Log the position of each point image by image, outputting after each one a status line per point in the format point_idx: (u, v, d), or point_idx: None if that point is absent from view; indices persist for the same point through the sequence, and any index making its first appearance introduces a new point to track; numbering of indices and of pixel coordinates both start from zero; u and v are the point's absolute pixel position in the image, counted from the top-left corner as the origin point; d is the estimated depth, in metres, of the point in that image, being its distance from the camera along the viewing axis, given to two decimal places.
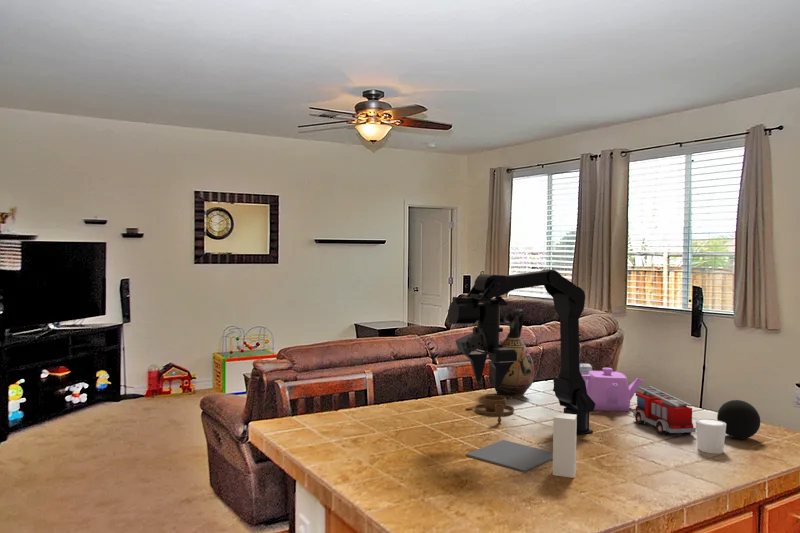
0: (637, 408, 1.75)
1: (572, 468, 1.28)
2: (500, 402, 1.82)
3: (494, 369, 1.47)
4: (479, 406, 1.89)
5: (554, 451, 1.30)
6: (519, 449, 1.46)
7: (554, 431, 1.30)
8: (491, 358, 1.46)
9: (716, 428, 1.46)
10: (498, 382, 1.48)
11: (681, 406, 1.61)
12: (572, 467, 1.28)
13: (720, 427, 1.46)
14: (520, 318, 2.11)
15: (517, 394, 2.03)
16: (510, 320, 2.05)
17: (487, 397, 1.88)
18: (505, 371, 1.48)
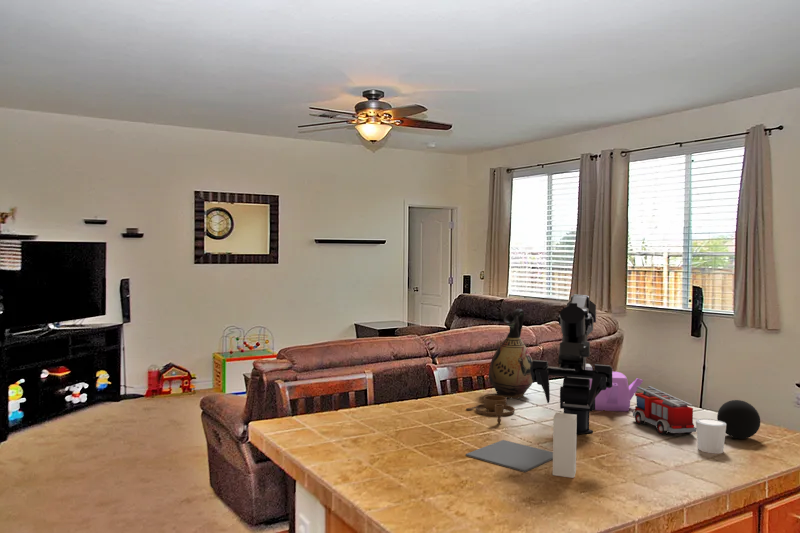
0: (637, 408, 1.75)
1: (572, 468, 1.28)
2: (500, 402, 1.81)
3: (595, 384, 1.39)
4: (480, 406, 1.88)
5: (554, 451, 1.30)
6: (519, 449, 1.46)
7: (554, 431, 1.30)
8: (600, 370, 1.39)
9: (716, 428, 1.46)
10: (592, 400, 1.38)
11: (682, 406, 1.61)
12: (572, 467, 1.28)
13: (720, 427, 1.46)
14: (520, 318, 2.11)
15: (517, 394, 2.03)
16: (510, 320, 2.05)
17: (488, 397, 1.87)
18: (597, 394, 1.40)
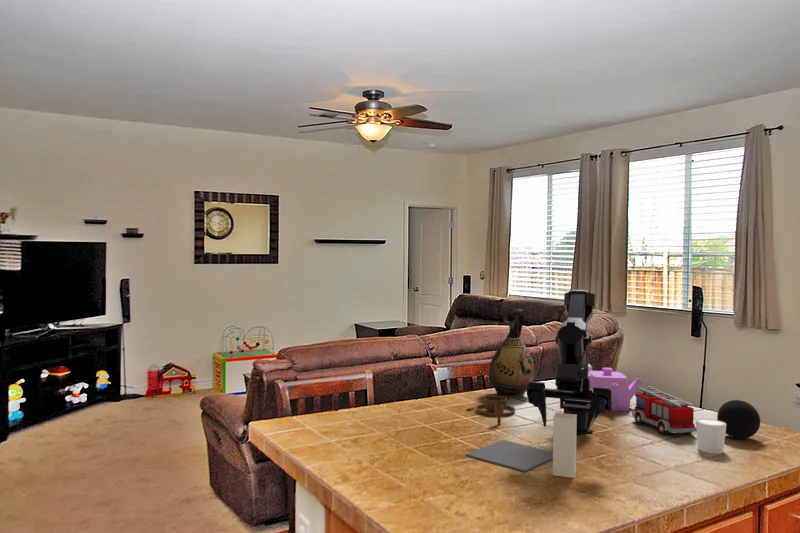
0: (636, 408, 1.75)
1: (572, 468, 1.28)
2: (501, 403, 1.81)
3: (593, 408, 1.33)
4: (480, 406, 1.88)
5: (554, 451, 1.30)
6: (519, 449, 1.46)
7: (554, 431, 1.30)
8: (599, 393, 1.34)
9: (716, 428, 1.46)
10: (590, 424, 1.32)
11: (682, 406, 1.61)
12: (572, 467, 1.28)
13: (720, 427, 1.46)
14: (520, 318, 2.11)
15: (517, 394, 2.03)
16: (510, 320, 2.05)
17: (488, 397, 1.87)
18: (595, 417, 1.35)
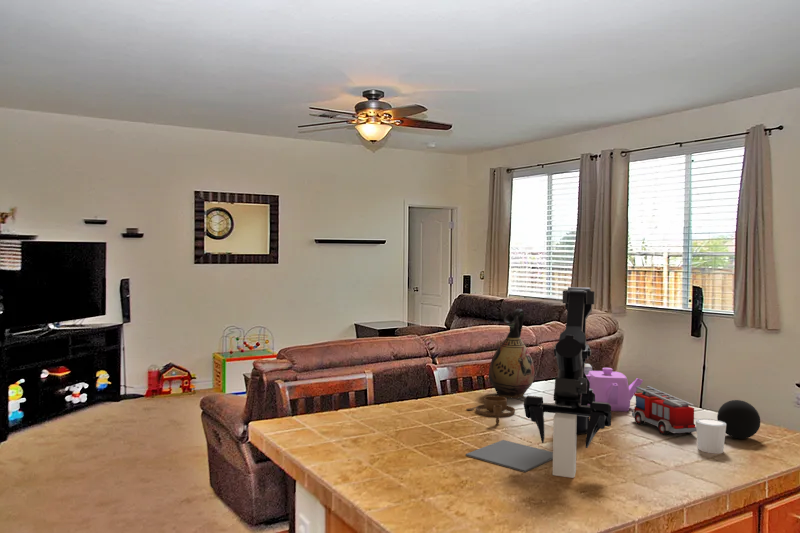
0: (636, 408, 1.74)
1: (572, 468, 1.28)
2: (500, 403, 1.81)
3: (592, 423, 1.30)
4: (480, 407, 1.88)
5: (554, 451, 1.30)
6: (519, 449, 1.46)
7: (554, 431, 1.30)
8: (598, 408, 1.30)
9: (716, 428, 1.46)
10: (589, 441, 1.29)
11: (683, 406, 1.61)
12: (572, 467, 1.28)
13: (720, 427, 1.46)
14: (520, 318, 2.11)
15: (517, 394, 2.03)
16: (510, 320, 2.05)
17: (488, 398, 1.87)
18: (594, 433, 1.31)
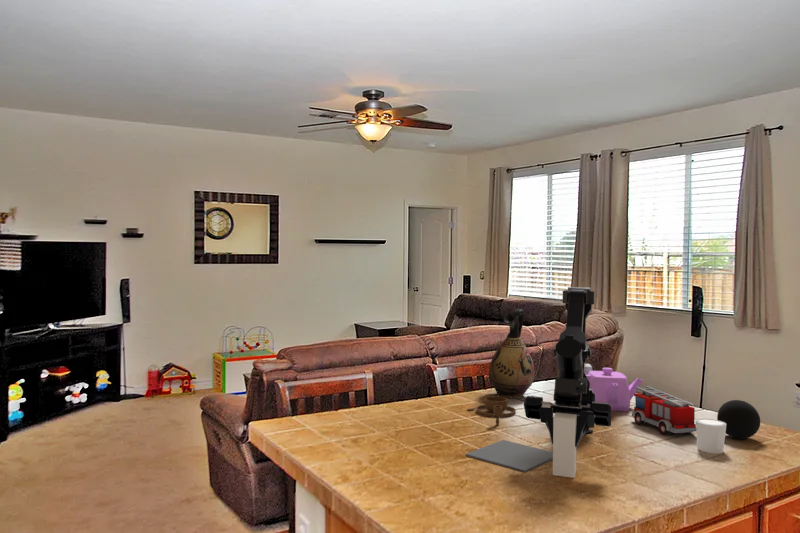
0: (636, 408, 1.74)
1: (572, 468, 1.28)
2: (501, 403, 1.80)
3: (582, 423, 1.31)
4: (481, 407, 1.88)
5: (554, 451, 1.30)
6: (519, 449, 1.46)
7: (554, 431, 1.30)
8: (598, 408, 1.30)
9: (716, 428, 1.46)
10: (579, 440, 1.30)
11: (683, 406, 1.61)
12: (572, 467, 1.28)
13: (720, 427, 1.46)
14: (520, 318, 2.11)
15: (517, 394, 2.03)
16: (510, 320, 2.05)
17: (489, 398, 1.86)
18: (584, 432, 1.32)
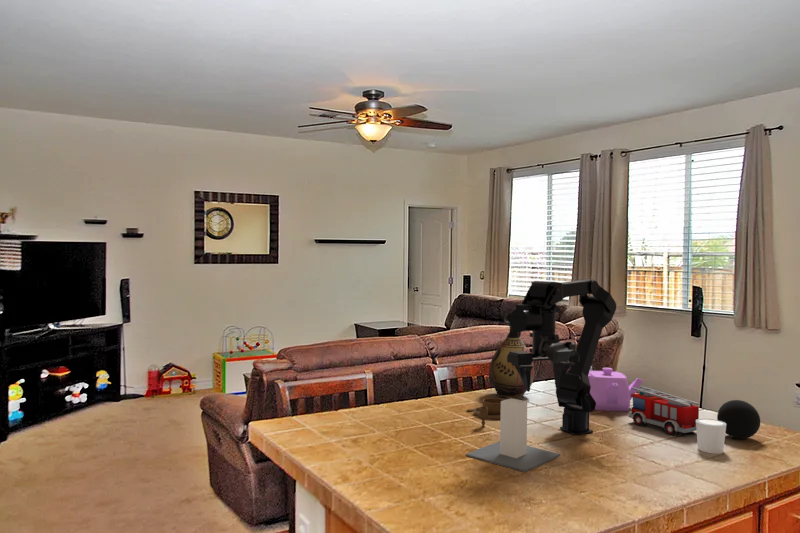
0: (634, 409, 1.73)
1: (515, 449, 1.40)
2: (496, 405, 1.77)
3: (564, 370, 1.56)
4: None
5: (501, 432, 1.42)
6: None
7: (501, 414, 1.42)
8: (572, 360, 1.55)
9: (716, 428, 1.46)
10: None
11: None
12: (515, 448, 1.40)
13: (720, 427, 1.46)
14: None
15: (517, 394, 2.03)
16: None
17: (489, 400, 1.84)
18: None
